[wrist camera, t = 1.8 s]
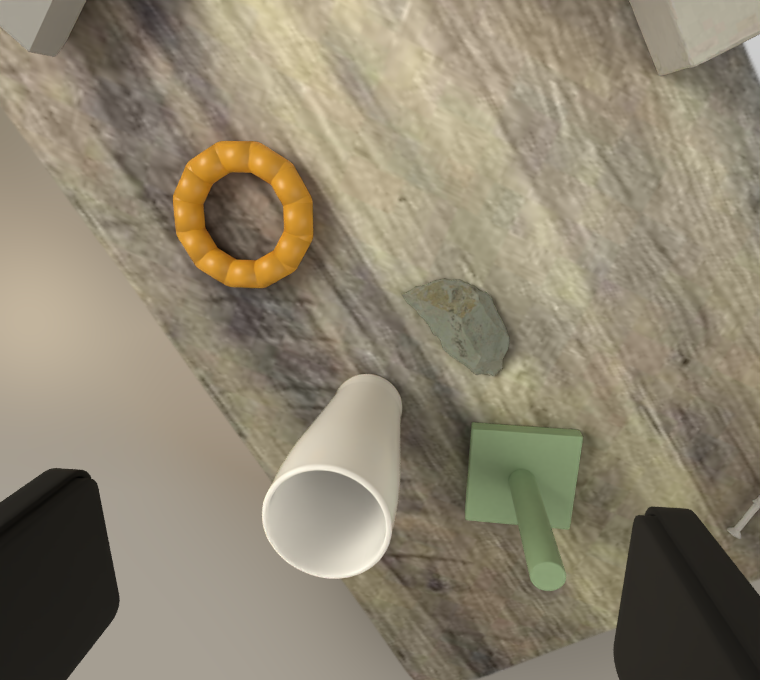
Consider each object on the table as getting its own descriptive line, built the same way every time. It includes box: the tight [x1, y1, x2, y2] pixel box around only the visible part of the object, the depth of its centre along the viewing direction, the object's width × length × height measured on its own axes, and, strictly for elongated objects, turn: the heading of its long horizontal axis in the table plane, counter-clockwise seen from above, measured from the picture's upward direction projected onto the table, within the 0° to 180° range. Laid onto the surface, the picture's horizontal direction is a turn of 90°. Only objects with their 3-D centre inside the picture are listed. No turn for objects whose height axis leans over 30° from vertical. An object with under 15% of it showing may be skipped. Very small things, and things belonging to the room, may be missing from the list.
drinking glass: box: [262, 374, 402, 579], centre depth 32 cm, size 7×7×15 cm
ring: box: [173, 141, 313, 288], centre depth 35 cm, size 10×10×2 cm
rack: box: [465, 422, 583, 591], centre depth 33 cm, size 8×8×11 cm
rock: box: [402, 279, 509, 376], centre depth 35 cm, size 9×2×5 cm
